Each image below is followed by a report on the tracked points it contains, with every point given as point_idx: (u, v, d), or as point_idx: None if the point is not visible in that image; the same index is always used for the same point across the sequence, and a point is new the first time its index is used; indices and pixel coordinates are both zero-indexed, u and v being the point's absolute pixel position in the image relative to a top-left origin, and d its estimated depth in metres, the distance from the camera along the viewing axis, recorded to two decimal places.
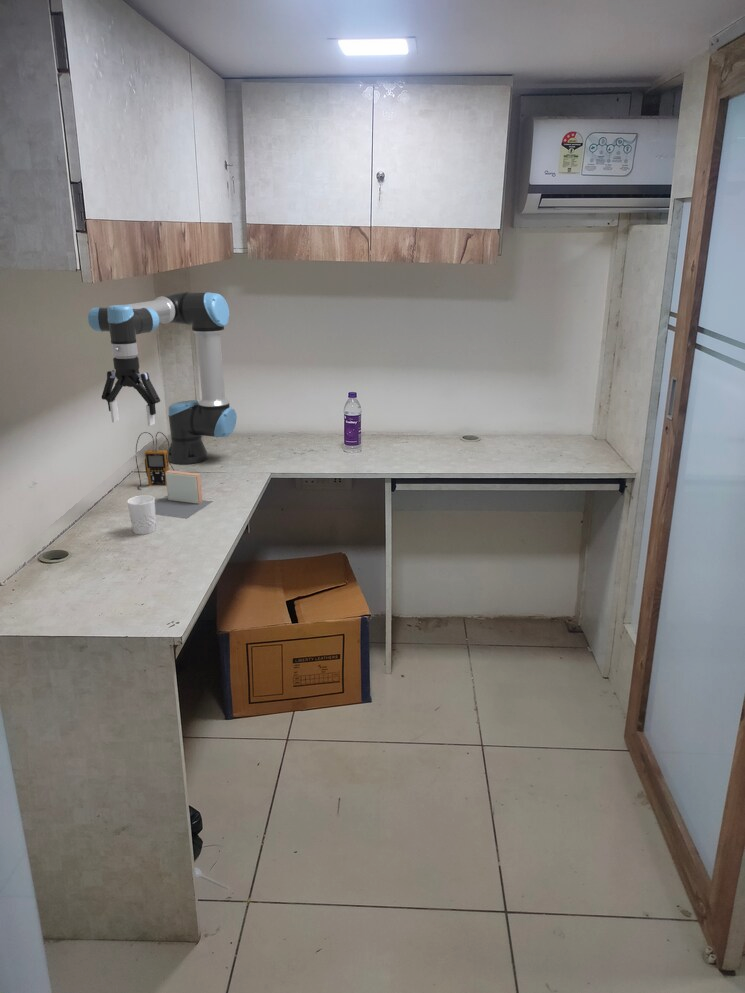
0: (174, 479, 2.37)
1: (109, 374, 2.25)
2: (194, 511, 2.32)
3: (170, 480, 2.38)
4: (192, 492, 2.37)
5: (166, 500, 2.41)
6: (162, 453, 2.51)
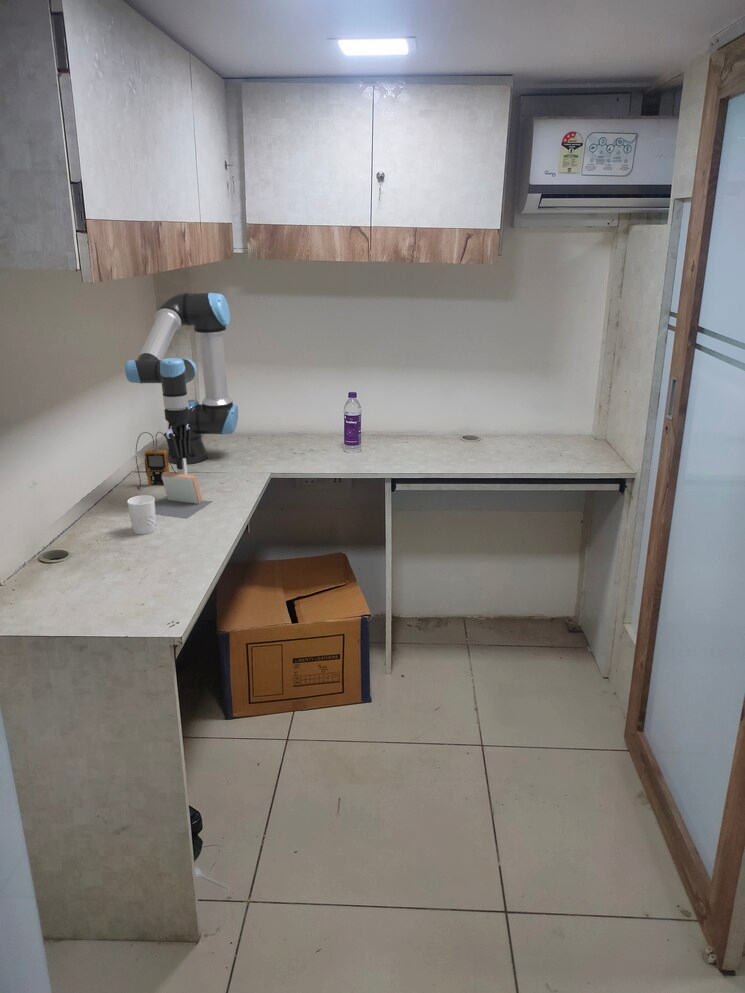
0: (171, 482, 2.36)
1: None
2: (194, 511, 2.32)
3: (167, 482, 2.36)
4: (191, 493, 2.36)
5: (166, 500, 2.41)
6: (162, 453, 2.51)
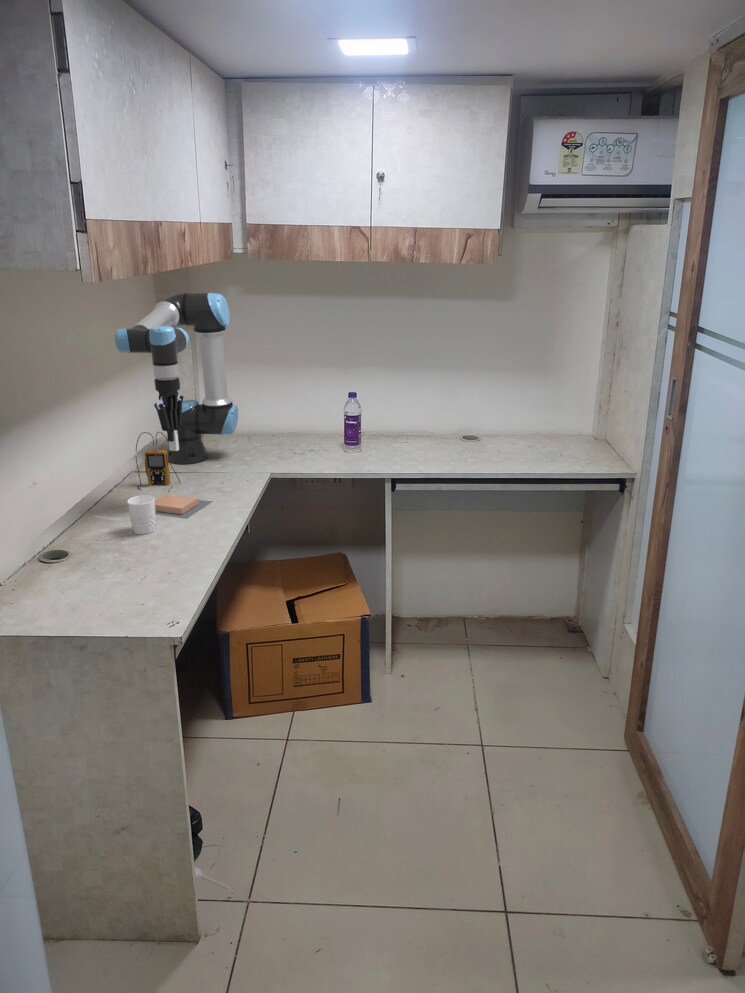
0: None
1: None
2: (194, 511, 2.32)
3: None
4: None
5: None
6: (162, 453, 2.51)
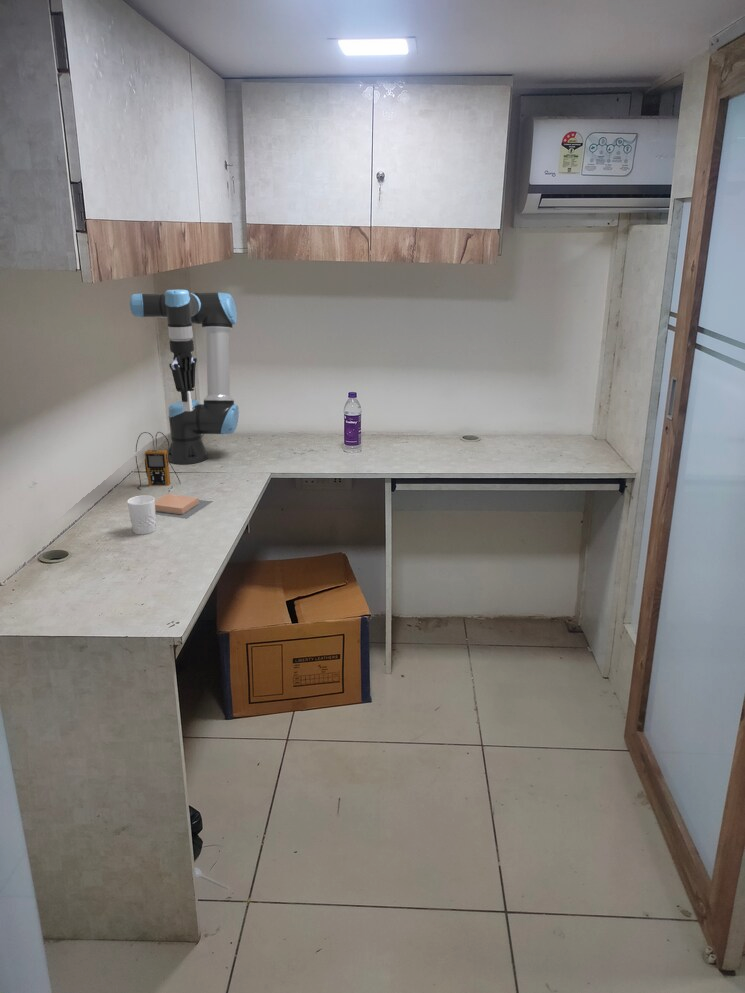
0: None
1: None
2: (194, 511, 2.32)
3: None
4: None
5: None
6: (162, 453, 2.51)
